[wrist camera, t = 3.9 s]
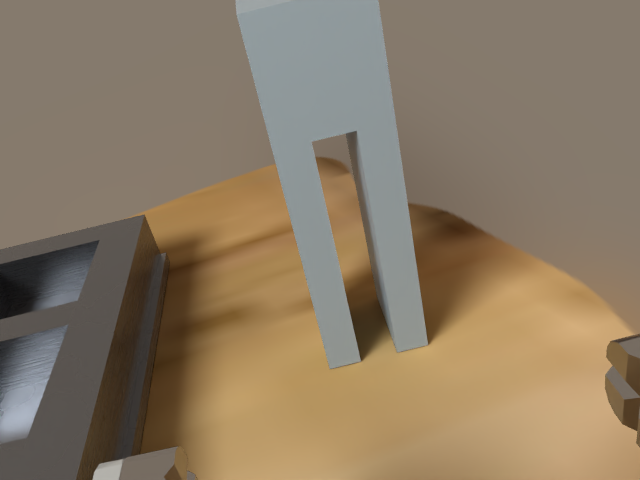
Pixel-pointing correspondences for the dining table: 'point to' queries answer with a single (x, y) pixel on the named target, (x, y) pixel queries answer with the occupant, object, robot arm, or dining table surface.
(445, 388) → the dining table surface
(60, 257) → the compartment tray
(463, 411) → the dining table surface
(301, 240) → the clip
